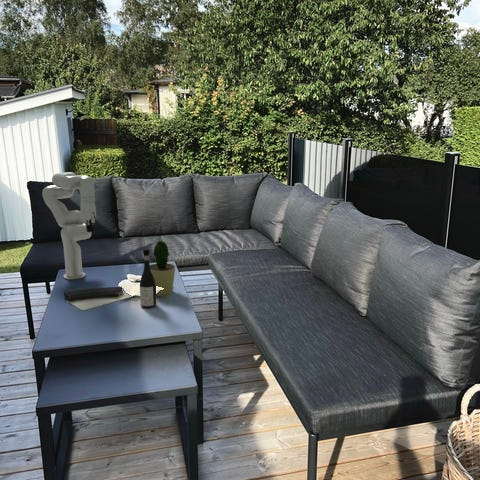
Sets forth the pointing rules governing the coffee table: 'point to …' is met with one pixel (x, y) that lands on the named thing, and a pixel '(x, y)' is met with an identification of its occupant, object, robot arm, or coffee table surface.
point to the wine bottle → (147, 284)
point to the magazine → (93, 293)
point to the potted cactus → (162, 269)
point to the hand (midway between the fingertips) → (90, 231)
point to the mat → (97, 301)
